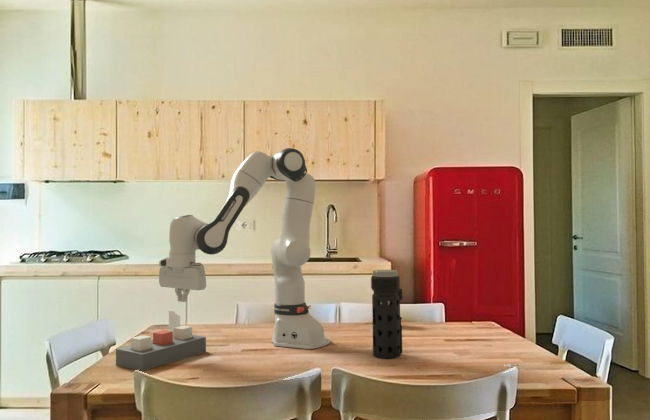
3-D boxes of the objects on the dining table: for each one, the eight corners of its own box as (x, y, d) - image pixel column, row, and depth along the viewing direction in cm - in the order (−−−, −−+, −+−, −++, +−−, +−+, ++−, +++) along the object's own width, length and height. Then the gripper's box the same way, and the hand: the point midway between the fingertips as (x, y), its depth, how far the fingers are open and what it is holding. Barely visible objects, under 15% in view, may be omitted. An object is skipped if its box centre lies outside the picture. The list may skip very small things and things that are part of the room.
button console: (205, 351, 172) (205, 337, 172) (142, 371, 150) (142, 354, 150) (180, 346, 179) (180, 332, 179) (115, 364, 157) (115, 348, 157)
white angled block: (163, 333, 190) (168, 311, 195) (174, 340, 199) (179, 319, 203) (171, 333, 190) (177, 311, 194) (182, 341, 198) (188, 319, 203)
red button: (172, 346, 165) (172, 331, 165) (161, 349, 161) (161, 334, 161) (163, 344, 167) (163, 330, 167) (153, 347, 164) (153, 332, 164)
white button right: (192, 341, 172) (192, 326, 172) (182, 343, 168) (182, 329, 169) (183, 339, 175) (183, 325, 175) (173, 342, 171) (173, 327, 171)
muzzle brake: (398, 350, 170) (368, 352, 168) (397, 269, 170) (367, 269, 169) (407, 358, 160) (376, 360, 159) (405, 271, 161) (375, 272, 159)
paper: (529, 357, 162) (529, 354, 162) (547, 373, 144) (547, 369, 145) (451, 356, 164) (451, 352, 164) (460, 371, 147) (460, 368, 147)
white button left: (151, 352, 158) (151, 336, 158) (139, 355, 154) (139, 339, 154) (142, 350, 160) (142, 335, 160) (130, 353, 156) (130, 337, 157)
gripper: (210, 262, 169) (210, 302, 169) (170, 260, 180) (169, 298, 180) (196, 263, 164) (196, 305, 164) (155, 261, 175) (155, 300, 175)
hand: (182, 301), depth 172 cm, fingers closed
